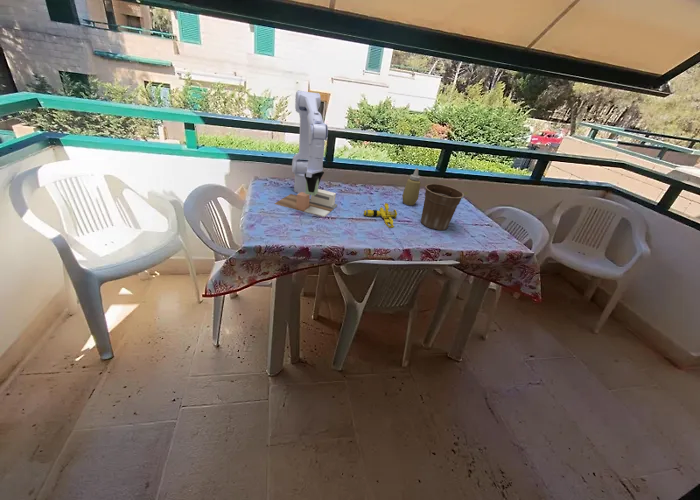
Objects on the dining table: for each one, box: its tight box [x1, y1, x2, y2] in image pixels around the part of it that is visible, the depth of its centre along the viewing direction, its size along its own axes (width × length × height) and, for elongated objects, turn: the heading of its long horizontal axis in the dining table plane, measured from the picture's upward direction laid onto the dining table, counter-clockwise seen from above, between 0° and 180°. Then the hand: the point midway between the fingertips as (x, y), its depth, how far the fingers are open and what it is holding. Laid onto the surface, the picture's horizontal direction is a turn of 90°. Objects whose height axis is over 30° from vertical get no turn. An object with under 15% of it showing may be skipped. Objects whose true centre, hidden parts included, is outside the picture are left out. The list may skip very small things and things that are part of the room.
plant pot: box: [420, 183, 465, 231], centre depth 141 cm, size 16×16×16 cm
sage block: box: [305, 179, 320, 196], centre depth 132 cm, size 4×4×6 cm
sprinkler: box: [363, 202, 398, 229], centre depth 142 cm, size 19×4×15 cm
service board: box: [274, 193, 337, 218], centre depth 142 cm, size 15×23×1 cm, turn 71°
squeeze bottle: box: [402, 167, 422, 206], centre depth 160 cm, size 8×8×18 cm
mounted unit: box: [309, 188, 338, 210], centre depth 143 cm, size 5×12×6 cm, turn 71°
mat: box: [304, 206, 331, 218], centre depth 136 cm, size 6×9×1 cm, turn 71°
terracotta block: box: [296, 192, 311, 210], centre depth 137 cm, size 4×4×6 cm
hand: (312, 190), depth 132 cm, fingers closed on sage block, 4 cm apart
